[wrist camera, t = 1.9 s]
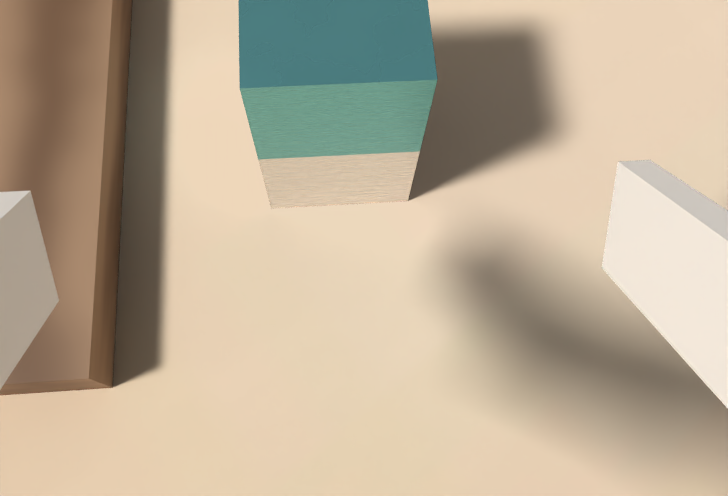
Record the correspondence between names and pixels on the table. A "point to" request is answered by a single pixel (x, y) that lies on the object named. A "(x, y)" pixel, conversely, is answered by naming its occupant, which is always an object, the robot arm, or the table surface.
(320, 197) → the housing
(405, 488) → the table surface
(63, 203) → the walnut stand
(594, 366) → the table surface
